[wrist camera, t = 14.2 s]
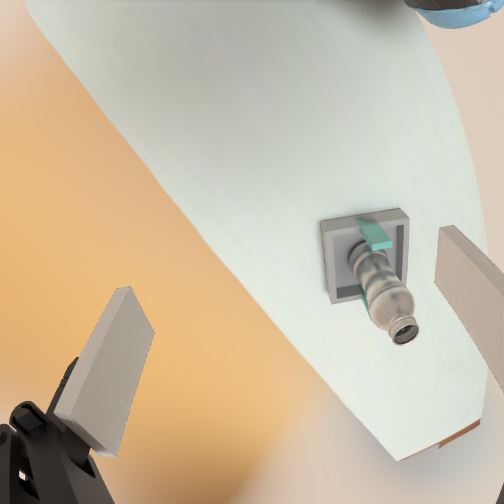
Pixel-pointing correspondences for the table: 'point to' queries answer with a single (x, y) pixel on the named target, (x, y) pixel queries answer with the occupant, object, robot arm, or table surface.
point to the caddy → (353, 234)
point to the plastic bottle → (384, 294)
